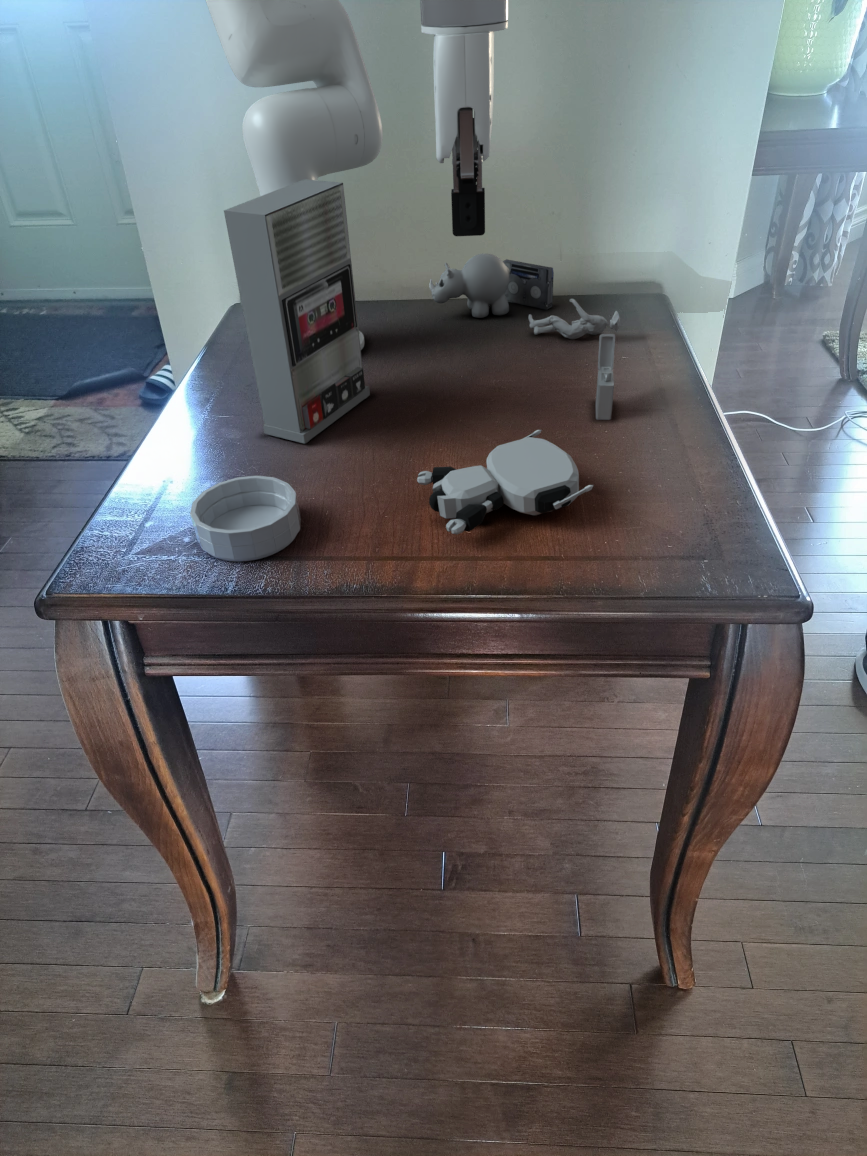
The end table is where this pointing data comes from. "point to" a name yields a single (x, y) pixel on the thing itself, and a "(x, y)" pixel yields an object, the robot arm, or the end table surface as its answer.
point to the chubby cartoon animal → (476, 285)
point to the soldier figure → (575, 324)
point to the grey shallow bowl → (246, 518)
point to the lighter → (605, 377)
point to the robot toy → (505, 483)
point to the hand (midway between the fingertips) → (468, 233)
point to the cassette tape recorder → (299, 305)
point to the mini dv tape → (530, 284)
